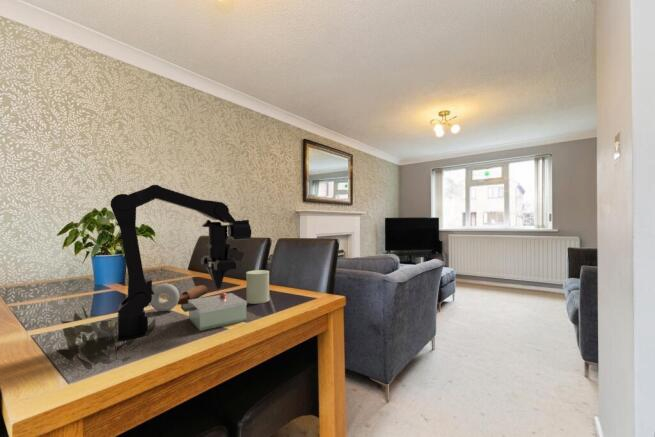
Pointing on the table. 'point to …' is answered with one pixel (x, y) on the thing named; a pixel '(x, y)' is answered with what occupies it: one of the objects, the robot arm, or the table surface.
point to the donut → (172, 294)
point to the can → (257, 286)
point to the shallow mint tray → (218, 317)
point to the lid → (213, 303)
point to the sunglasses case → (192, 294)
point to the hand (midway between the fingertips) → (218, 288)
